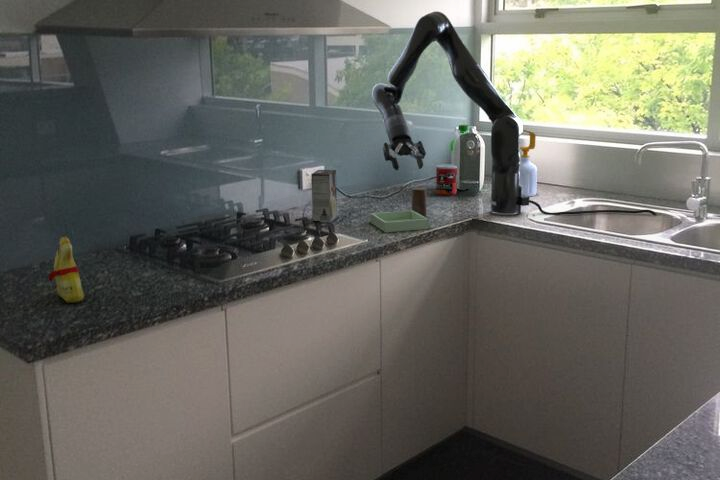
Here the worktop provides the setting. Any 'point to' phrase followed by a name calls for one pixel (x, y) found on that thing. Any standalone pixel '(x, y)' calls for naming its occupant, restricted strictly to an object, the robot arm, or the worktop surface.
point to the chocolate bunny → (66, 273)
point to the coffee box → (324, 195)
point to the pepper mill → (419, 200)
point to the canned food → (446, 180)
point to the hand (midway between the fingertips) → (409, 168)
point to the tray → (399, 221)
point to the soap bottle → (528, 169)
